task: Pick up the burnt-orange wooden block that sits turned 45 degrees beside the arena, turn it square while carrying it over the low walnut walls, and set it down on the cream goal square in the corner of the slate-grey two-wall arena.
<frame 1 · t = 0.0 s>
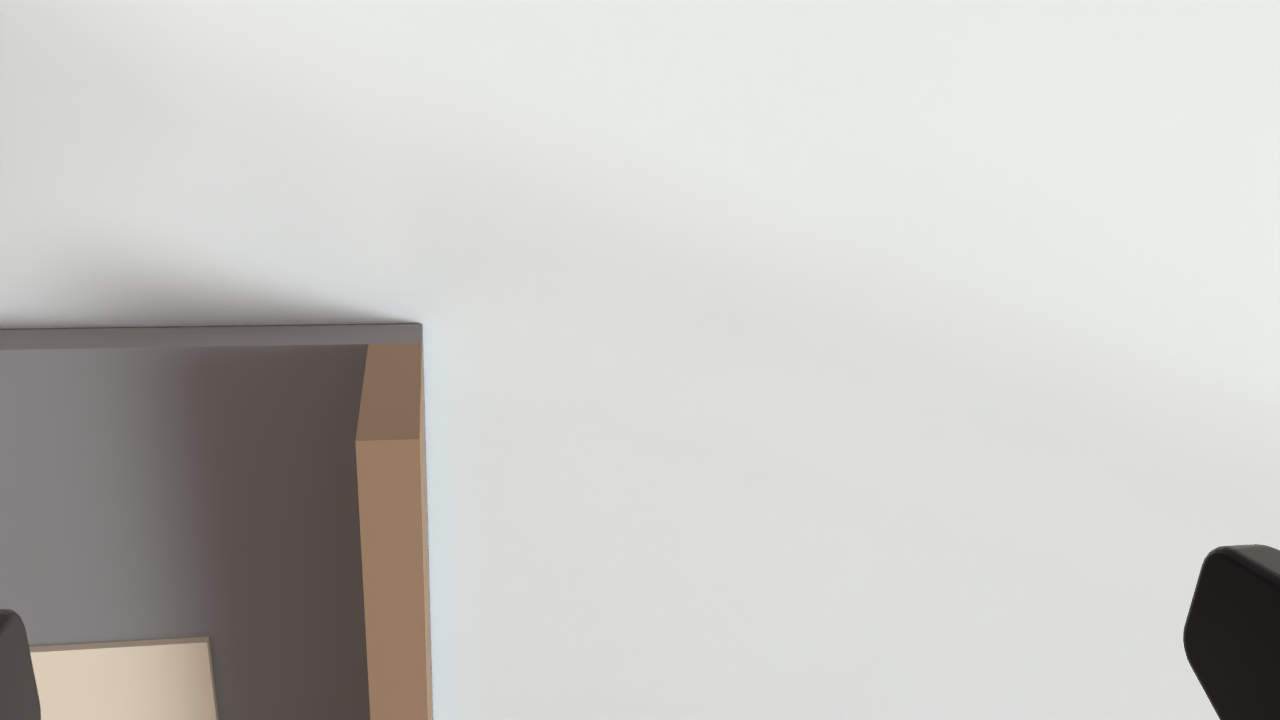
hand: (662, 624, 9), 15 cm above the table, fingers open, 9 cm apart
arena: (10, 715, 25), on the table
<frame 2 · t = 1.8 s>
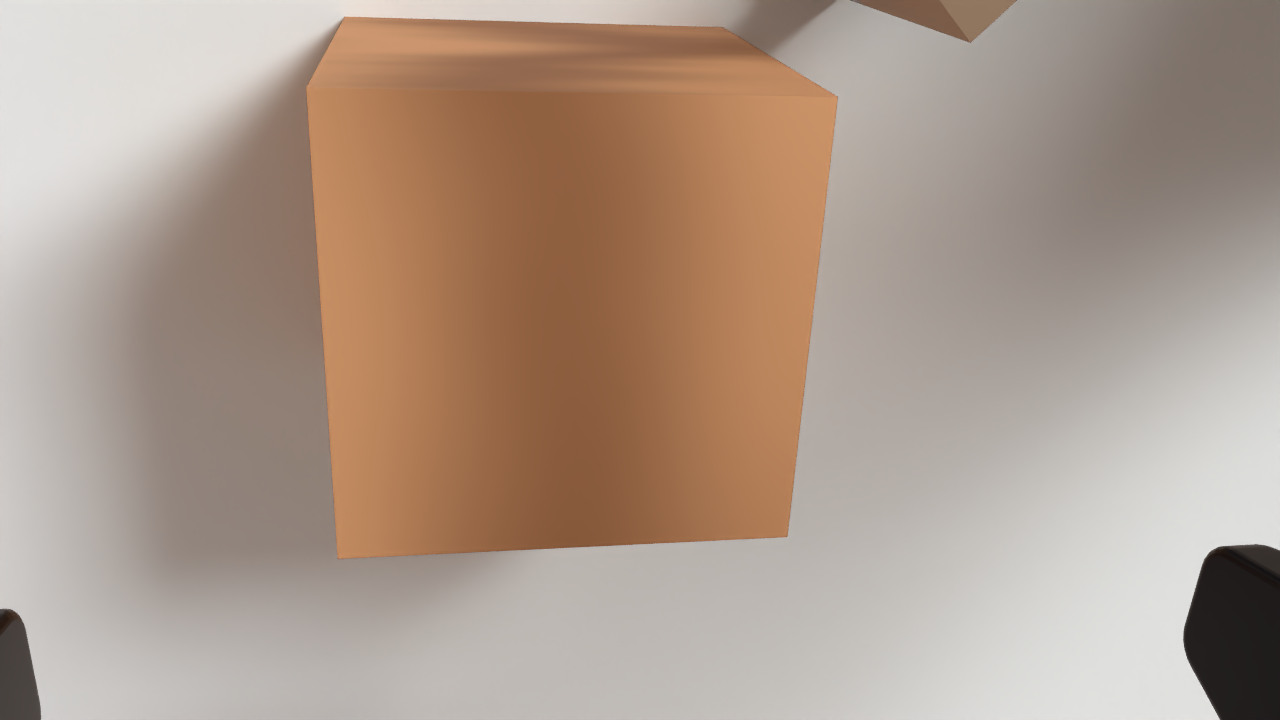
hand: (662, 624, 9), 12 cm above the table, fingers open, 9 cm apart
block: (536, 204, 20), on the table
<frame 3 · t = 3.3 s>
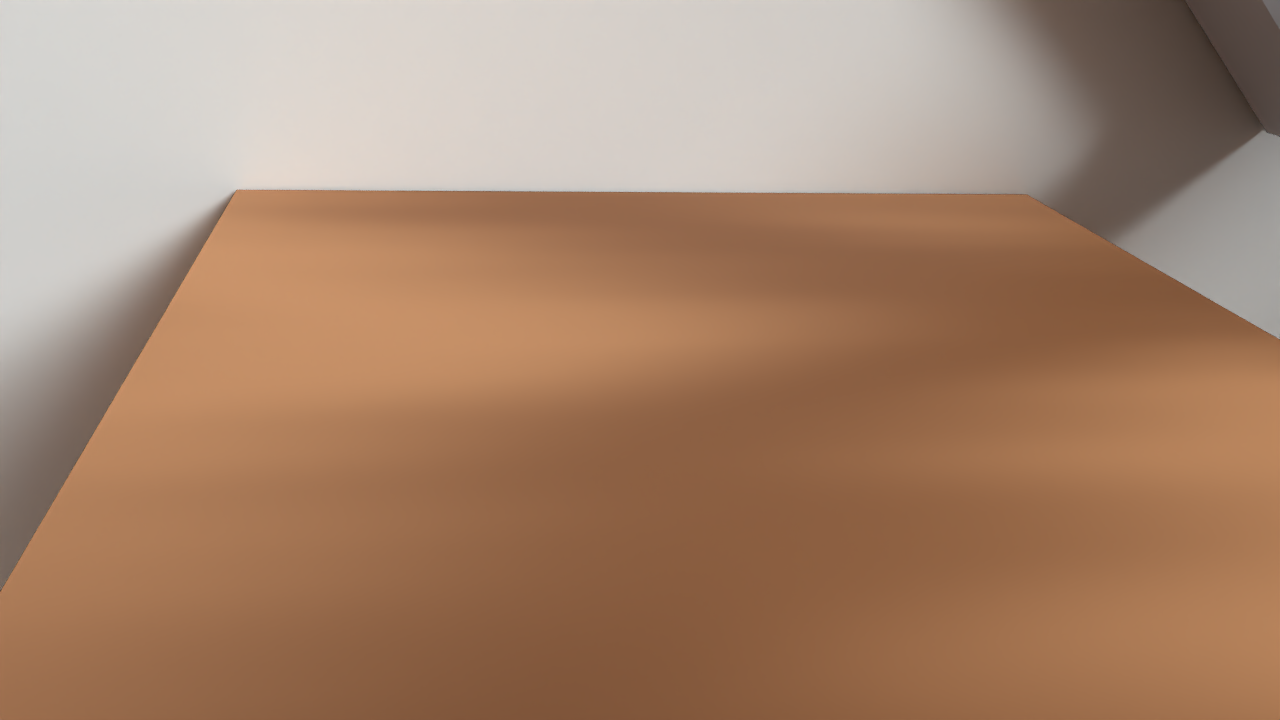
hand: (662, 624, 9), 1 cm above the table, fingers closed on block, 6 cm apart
block: (635, 535, 10), on the table, touching gripper
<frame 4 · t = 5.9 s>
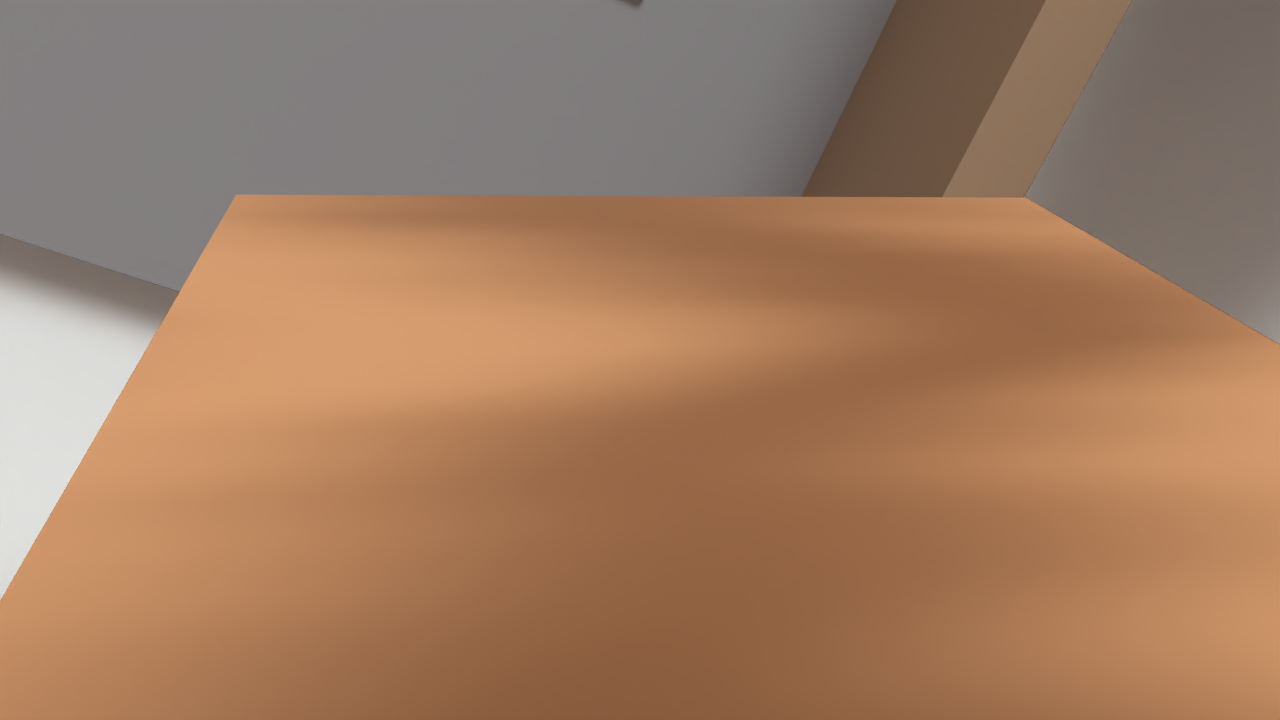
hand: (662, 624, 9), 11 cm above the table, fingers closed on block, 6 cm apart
block: (635, 538, 10), point 9 cm above the table, touching gripper
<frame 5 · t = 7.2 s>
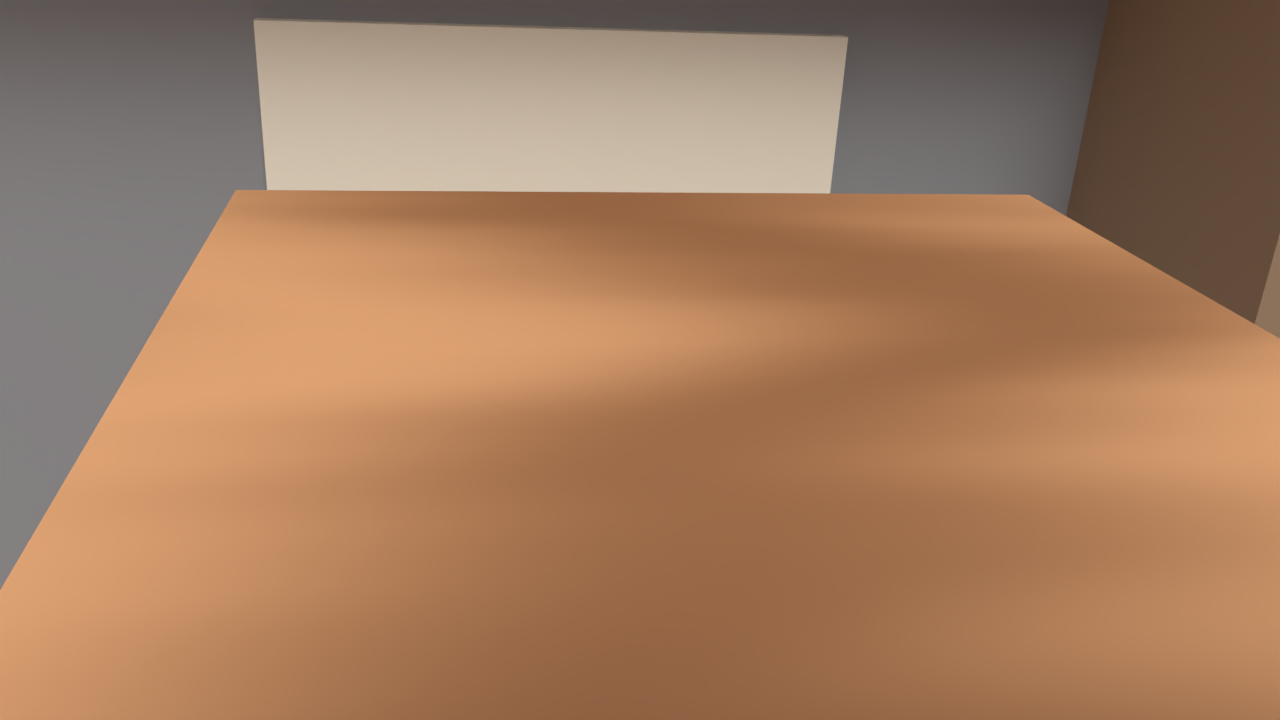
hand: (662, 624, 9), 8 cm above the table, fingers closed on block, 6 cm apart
arena: (476, 345, 16), on the table
block: (635, 536, 10), point 7 cm above the table, touching gripper
when the fingers open (4 cm above the table, at t = 8.4 s): block drops 1 cm, resting on arena.
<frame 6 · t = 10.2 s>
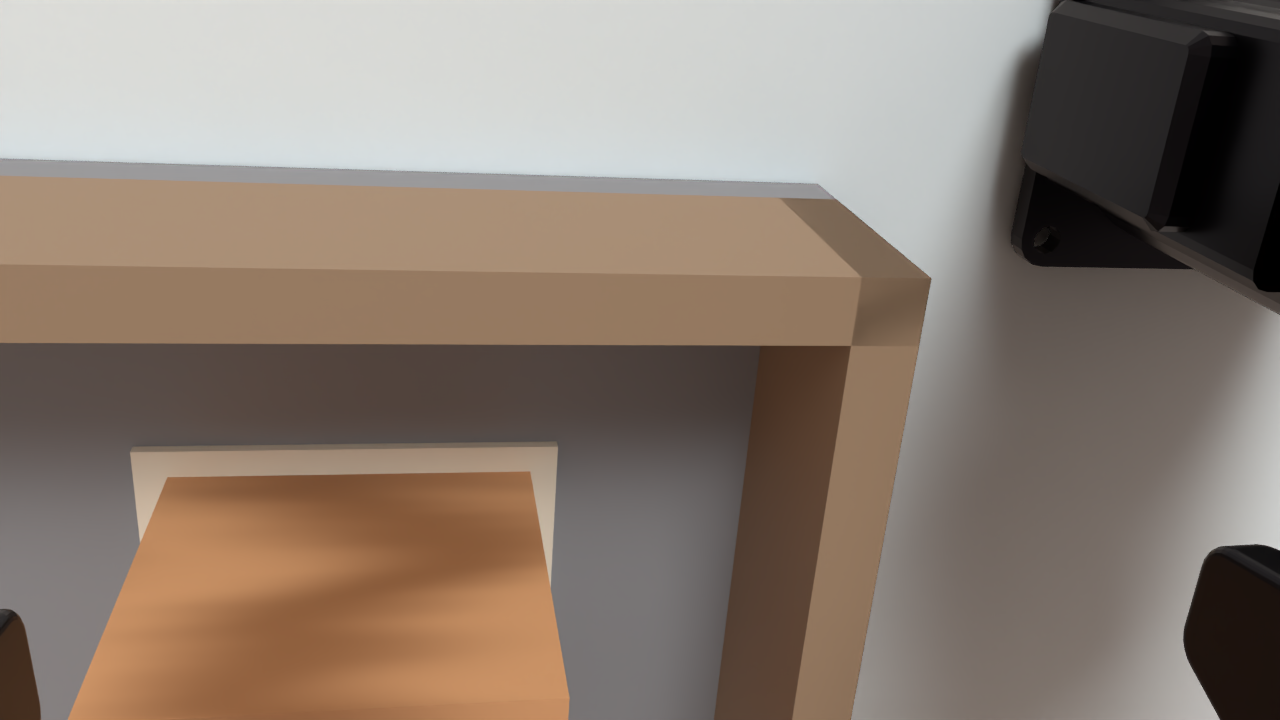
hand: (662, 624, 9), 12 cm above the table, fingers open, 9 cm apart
arena: (306, 629, 22), on the table
block: (357, 620, 21), point 1 cm above the table, touching arena
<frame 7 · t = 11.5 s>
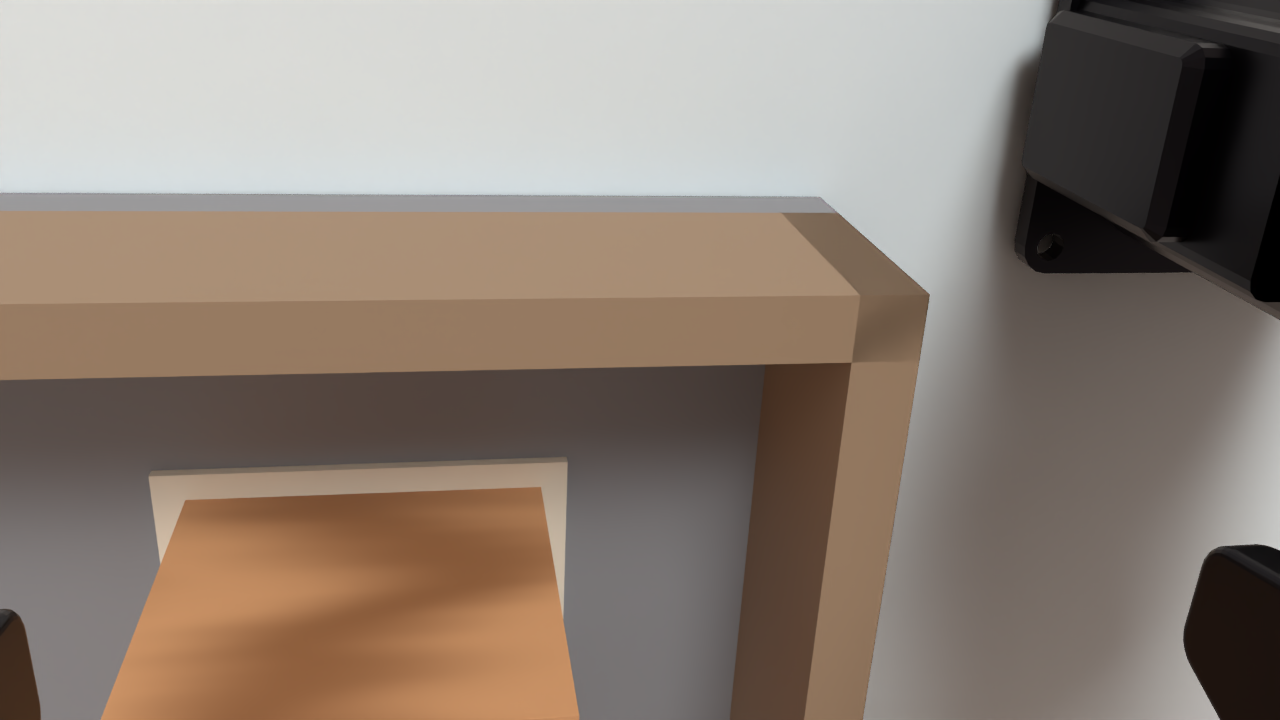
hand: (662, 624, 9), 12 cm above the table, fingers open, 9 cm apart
arena: (325, 644, 22), on the table
block: (374, 635, 21), point 1 cm above the table, touching arena
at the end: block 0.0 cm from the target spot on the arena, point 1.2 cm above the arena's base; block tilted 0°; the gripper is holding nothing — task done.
